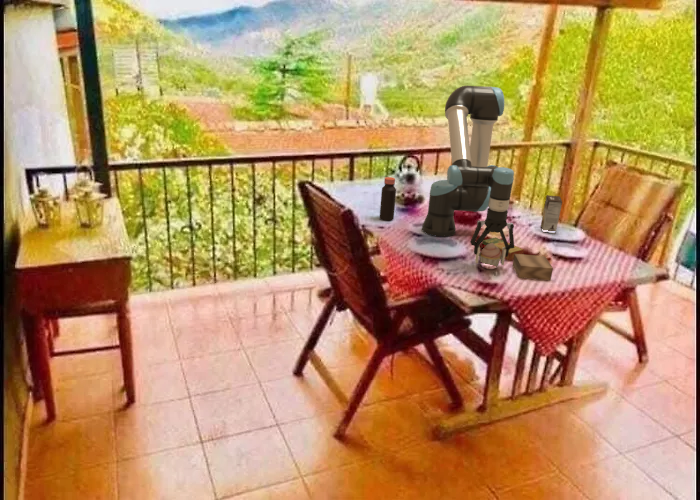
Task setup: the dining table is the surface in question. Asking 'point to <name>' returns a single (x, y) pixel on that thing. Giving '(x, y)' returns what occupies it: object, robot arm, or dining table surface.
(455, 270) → the dining table surface
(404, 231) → the dining table surface
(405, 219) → the dining table surface
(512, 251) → the carton
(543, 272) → the block
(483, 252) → the cupcake
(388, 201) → the bottle
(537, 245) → the dining table surface
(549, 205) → the coffee box
